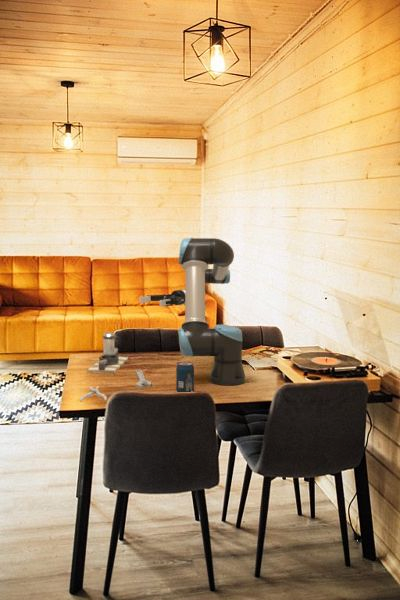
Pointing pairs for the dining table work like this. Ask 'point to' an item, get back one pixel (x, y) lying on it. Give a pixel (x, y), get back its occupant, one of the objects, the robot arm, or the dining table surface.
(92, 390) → the pliers
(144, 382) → the adjustable wrench
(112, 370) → the coupling base
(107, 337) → the coupler
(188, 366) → the soda can
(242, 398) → the dining table surface
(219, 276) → the robot arm
